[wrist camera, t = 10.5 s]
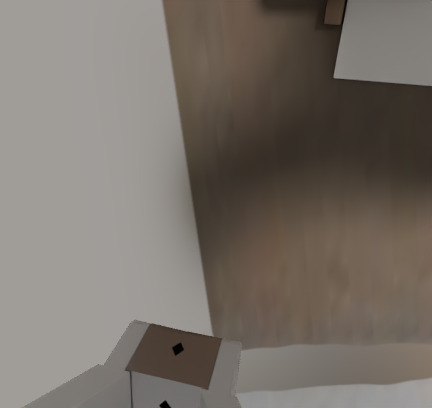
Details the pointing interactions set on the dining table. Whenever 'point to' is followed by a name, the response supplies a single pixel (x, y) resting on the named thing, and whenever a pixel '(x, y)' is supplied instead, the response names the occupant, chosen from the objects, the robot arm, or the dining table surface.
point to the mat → (386, 42)
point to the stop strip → (334, 12)
